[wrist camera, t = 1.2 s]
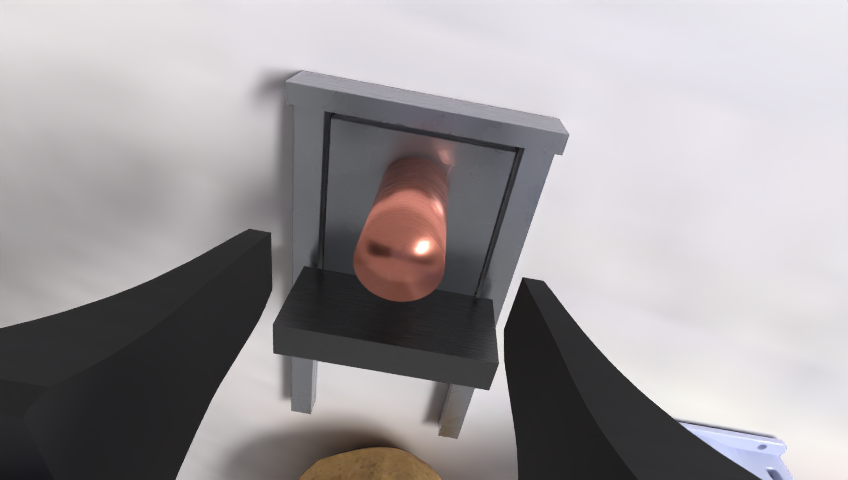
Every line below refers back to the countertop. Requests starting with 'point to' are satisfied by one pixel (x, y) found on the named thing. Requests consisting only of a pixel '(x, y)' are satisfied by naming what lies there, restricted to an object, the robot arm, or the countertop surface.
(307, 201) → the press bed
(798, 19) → the countertop surface
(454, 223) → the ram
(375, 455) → the potato
